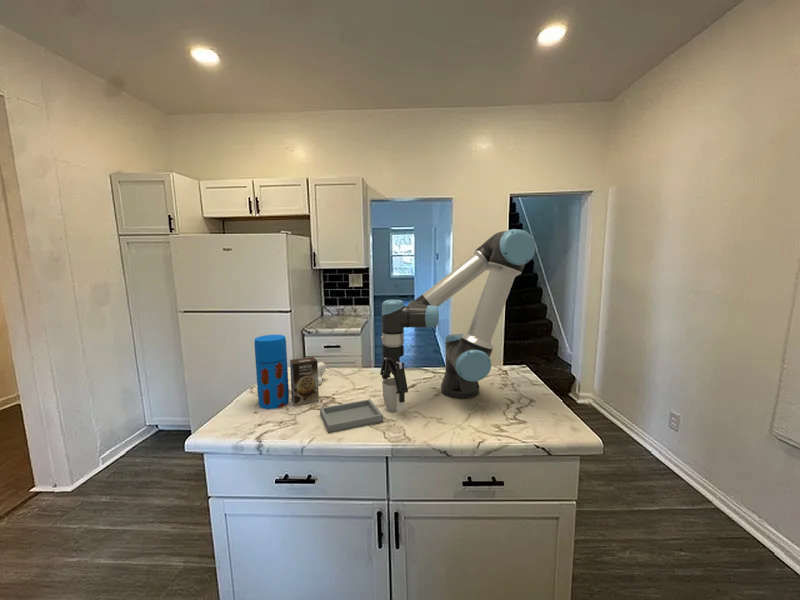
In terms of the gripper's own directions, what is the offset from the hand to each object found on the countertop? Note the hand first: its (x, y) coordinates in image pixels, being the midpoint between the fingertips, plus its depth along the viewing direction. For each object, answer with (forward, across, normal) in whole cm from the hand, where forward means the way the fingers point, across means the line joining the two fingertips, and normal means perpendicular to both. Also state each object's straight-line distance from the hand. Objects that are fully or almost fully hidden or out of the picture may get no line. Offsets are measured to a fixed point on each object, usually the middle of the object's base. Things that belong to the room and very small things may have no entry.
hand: (393, 402), depth 126 cm
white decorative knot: (+3, -39, -23) cm, 45 cm away
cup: (+2, 0, 0) cm, 2 cm away
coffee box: (+3, -20, -28) cm, 34 cm away
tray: (+2, +1, -16) cm, 16 cm away
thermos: (+3, -23, -39) cm, 45 cm away
